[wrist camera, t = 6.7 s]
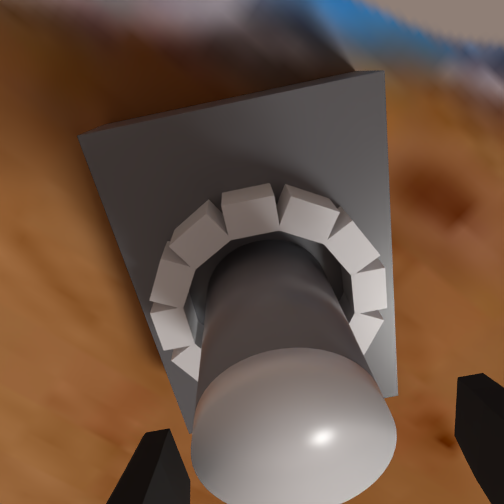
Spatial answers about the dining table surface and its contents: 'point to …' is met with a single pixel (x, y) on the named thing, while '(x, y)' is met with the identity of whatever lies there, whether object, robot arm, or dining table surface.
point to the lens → (284, 386)
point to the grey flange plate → (253, 206)
